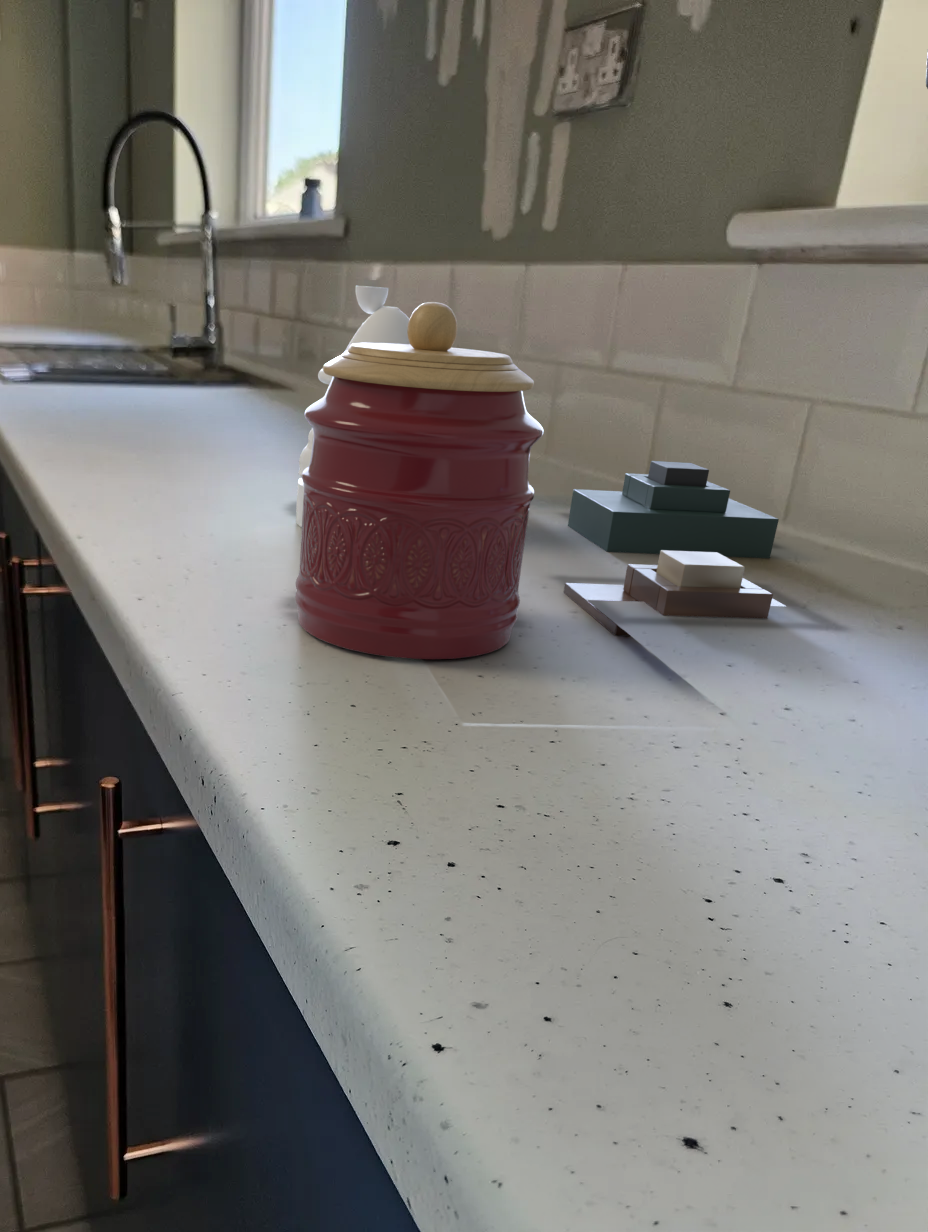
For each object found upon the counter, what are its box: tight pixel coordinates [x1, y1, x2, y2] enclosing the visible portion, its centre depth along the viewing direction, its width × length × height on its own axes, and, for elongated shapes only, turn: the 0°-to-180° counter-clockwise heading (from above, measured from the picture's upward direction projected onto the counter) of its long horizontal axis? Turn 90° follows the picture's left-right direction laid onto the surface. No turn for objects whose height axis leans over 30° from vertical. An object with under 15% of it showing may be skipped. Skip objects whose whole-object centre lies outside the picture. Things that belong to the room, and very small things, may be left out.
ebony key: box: [648, 460, 710, 487], centre depth 93 cm, size 4×4×2 cm
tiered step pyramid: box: [567, 472, 780, 559], centre depth 94 cm, size 14×10×5 cm
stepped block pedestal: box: [563, 563, 786, 637], centre depth 73 cm, size 14×10×2 cm
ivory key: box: [656, 550, 746, 588], centre depth 72 cm, size 4×4×2 cm
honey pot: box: [295, 285, 411, 528], centre depth 90 cm, size 13×13×18 cm
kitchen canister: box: [294, 301, 545, 660], centre depth 62 cm, size 13×13×18 cm
